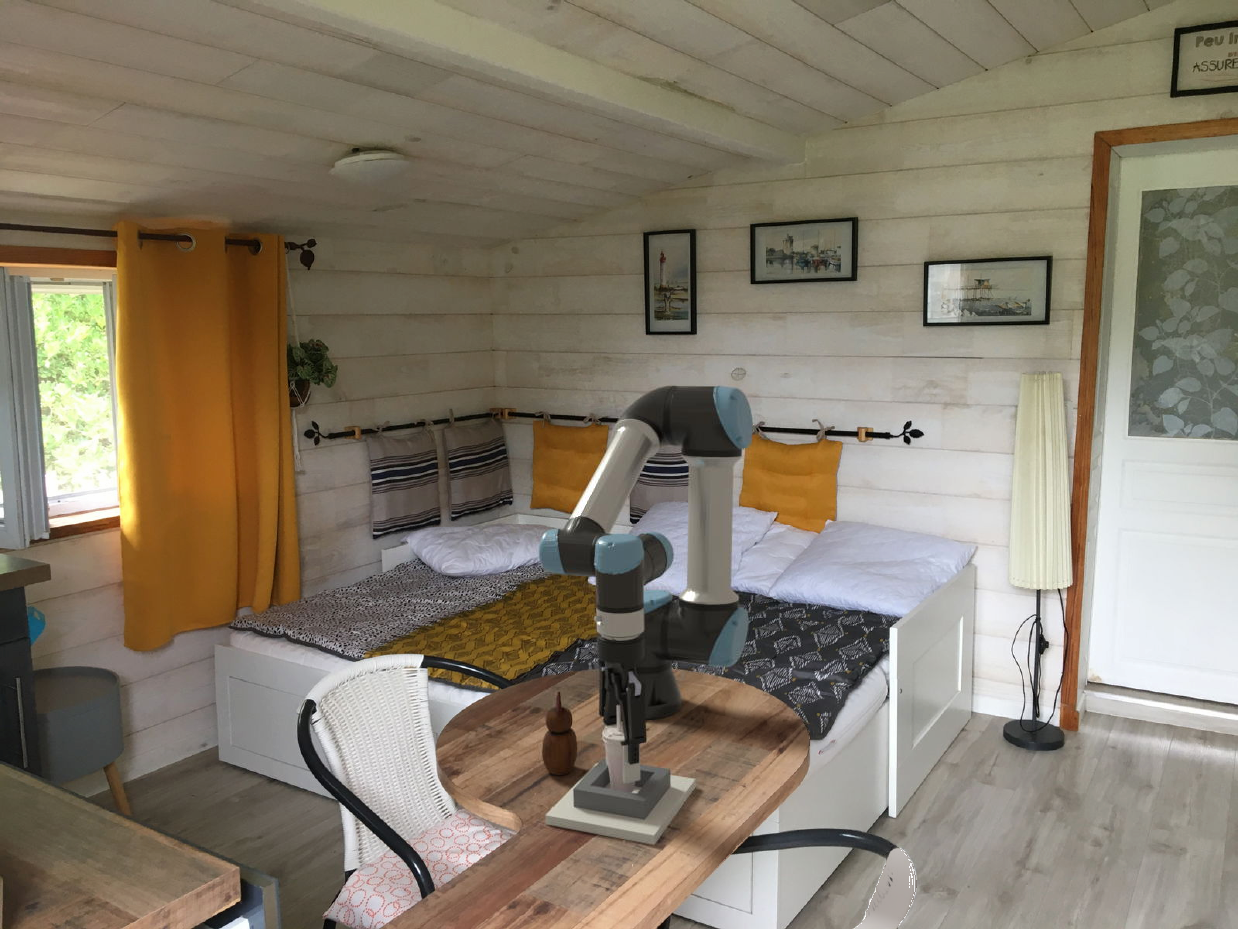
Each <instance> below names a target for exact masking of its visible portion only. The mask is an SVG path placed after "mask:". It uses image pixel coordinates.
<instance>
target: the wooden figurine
mask: <svg viewBox="0 0 1238 929" xmlns="http://www.w3.org/2000/svg"><path fill="white" fill-rule="evenodd" d="M561 698H562V697H561V691H557V695H556V699H555V700H556V701H555V707H551V708H549V709H548V710H547V713H546V715H545V726H546V728H547V731H546V732H545V734H544V737H543V740H542V748H541V756H542V760H543V764H544V766H545V769H546V770H547V772H548V773H550V774H551V775H555V776H563V775H564V776H565V775H567V774H569V773H570V772H572V770H573V769H574V767H575V764H576V760H577V757H578V739H577V734H576V733H575V730H574V729H573V728H572V726H573V714H572V712H571V710H570V709H569V708H568V707H565V706H562V699H561Z"/></svg>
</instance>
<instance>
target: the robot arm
mask: <svg viewBox="0 0 1238 929" xmlns="http://www.w3.org/2000/svg"><path fill="white" fill-rule="evenodd" d="M753 425H754V423H753V415H752V409H751V405H750V403H749V400H748V398H747V395H746V394H745V393H744V391H742V390H741V389H740V388H738V387H731V386H724V385H723V386H721V385H715V386H714V385H710V386H709V385H705V386H704V385H665V386H661V387H657V388H655V389H653V390H650V391H649V392H646V393H645V394H643V395H642V396H640V397H639V398H638V399H636V400H635V401H633V403H631V404H630V405H629V406H628V407H626V409H625V410H624V411H623V413H622V414H621V415H620V416H619V418H618V420H617V421H616V422H615V424H614V426H613V428H612V432H611V436H612V441H611V443H610V445H609V446H608V448H607V450H606V452H605V454H604V455H603V457H602V459H601V460H600V463H599V464H598V466H597V468H596V470H595V472H594V473H593V475H592V477H591V478H590V481H589V483H588V484H587V486H586V488H585V490H584V491H583V493H582V496H580V498H579V500H578V502H577V504H576V506H575V508H574V510H573V511H572V513H571V515H570V516H569V519H568V521H566V523H565V526H564V527H563V528H562V529H561V528H555V529H552V528H551V529H548V530H547V531H544V533H543V535H542V536H541V539H540V541H539V546H538V558H539V561H540V563H541V567H542V568H543V569H544V570H545V571H546V572H548V573H552V574H559V575H564V576H579V577H590V578H595V598H596V601H595V602H596V603H595V606H596V610H595V611H596V615H594V617H593V620H594V622H596V631H597V633H598V634H597V636H596V656H597V658H598V661H597V663H598V670H599V676H598V677H599V682H598V684H599V686H598V688H599V689H598V691H599V693H598V695H599V696H598V697H599V698H598V702H599V703H598V716H600V717H601V718H602V721H603V724H604V725H605V726H604V729H605V728H607V727H609V726H613V725H617V705H620V724H623V732H624V739H625V741H622V742H620V743H621V745H622V766H623V782H624V783H629V782H634V781H639V780H640V764H641V745H642V744H646V743H647V740H648V739H647V721H646V720H654V719H655V720H656V719H660V718H665V717H669V716H671V715H674V714H675V713H677V712H678V711H680V709H681V707H682V694H681V690H680V688H679V684H678V682H677V678H676V676H675V672H674V670H673V662H676V663H677V662H679V663H685V664H686V663H687V664H694V665H700V666H701V665H702V666H708V667H710V668H714V667H719V668H720V667H721V668H730V667H732V666H734V665H735V664H736V663H737V662H738V660H739V659H740V657H741V655H742V652H743V650H744V648H745V645H746V641H747V636H748V632H749V620H750V619H749V618H750V617H749V613H748V610H747V609H746V608H744V607H739V605H740V604H739V603H740V601H739V600H740V598H739V595H738V594H737V593H736V592H735V591H734V590H733V589H732V566H733V565H732V561H733V560H732V558H733V557H732V556H733V554H732V553H733V552H732V551H733V511H734V510H733V508H734V507H733V506H734V466H735V465H736V464H737V463H738V462H739V461H740V460H741V459H742V457H743V456H742V454H743V450H745V449H747V448H749V447H750V445H751V444H752V441H753V437H752V436H753V433H754V426H753ZM666 446H674V447H675V446H676V447H681V448H680V456H681V458H682V459H683V460H684V461H685V462H686V464H688V497H687V498H688V500H687V502H688V505H687V507H688V508H687V555H686V556H687V557H686V558H687V563H686V570H687V571H686V588H685V589H683V590H682V591H681V592H680V593H679V594H678V601H673V595H672V593H671V592H670V591H667V590H665V589H651V590H649V589H647V590H644V589H645V588H644V587H645V586H647V584H649V583H652V581H654V580H656V579H659V578H661V577H662V576H663V575H664V573H666V572H667V571H668V570H669V569H670V568H671V566H672V565H673V562H674V556H675V553H674V552H675V551H674V548H673V544H672V543H671V541H670V540H669V538H667V537H666V536H665V535H663V534H662V533H660V532H656V531H648V532H643V533H640V534H639V535H635V534H631V533H612V530H613V528H614V526H615V524H616V522H617V521H618V520H617V519H618V518H619V516H620V514H621V512H622V510H623V508H624V507H625V504H626V502H627V500H628V498H629V497H630V495H631V492H632V490H633V488H634V487H635V486H636V483H637V480H639V477H640V475H641V473H642V471H643V469H644V468H645V465H646V464H647V462H648V459H651V458H653V457H654V456H655V455H656V454H657V453H658V452H659V450H660V448H661V447H666ZM605 759H606V764H607V765H608V762H607V755H606V754H605Z"/></svg>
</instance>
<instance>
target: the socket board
mask: <svg viewBox="0 0 1238 929" xmlns="http://www.w3.org/2000/svg"><path fill="white" fill-rule="evenodd" d="M696 786H697V785H696V778H691V777H685V776H680V775H675V774H674V775H672V774H671V769H670V768H666V767H659V766H653V765H646V764H641V763H640V780H639V781H635V788H634V791H633V792H625V791H619V790H613V789H611V782H610V775H609V769H608V765H607V764H606V758H604V757H603V758H601V760H600V761H599V762H596V763H595V764H594V765H593V766H592V767H591V768H590V769H589V770H588V771H587V772H586V773H585V774H584V775H583V776H582V777H581V778H580V779H579V780H578V781H577V782H576V783H575V784H574V785H573V786H572V788H570V789H569V791H567V792H566V793H565V795H564V796H563V797H562V798H561V799H559V801H558V802H557V803H556V804H555V805H553V807H552V808H550V810H549V811H548V812H546V814H545V825H548V826H553V827H559V828H563V829H569V830H573V831H574V830H575V831H579V832H585V833H589V834H597V835H601V836H606V837H610V838H616V839H623V840H626V841H632V842H637V843H642V844H648V845H653V846H655V844H656V843H657V842H658V841H659V839H660V837H661V836H662V835H663V833H664V832H665V831H666V829H667V827H668V826H669V825H670V823H671V822H672V821H673V819H674V818H675V817H676V815H677V814H678V812H679V811H680V810H681V808H682V807H683V806H682V805H684V804H685V803H686V802H687V800H688V799H689V797H690V796H691V794H692V793H693V792H694V790H695V789H696V788H695V787H696ZM692 791H693V792H692ZM689 795H690V796H689ZM687 798H688V799H687ZM684 802H685V803H684Z"/></svg>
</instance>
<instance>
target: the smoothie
mask: <svg viewBox="0 0 1238 929" xmlns="http://www.w3.org/2000/svg"><path fill="white" fill-rule="evenodd" d="M620 723H621V722H620V705H617V725H613V726H609V727H607V728H605V727H604V729H603V730H602V737H601V739H602V740H603V742H604V747H605V756H606V755H607V762H608V769H609V775H610V782H611V789H613V790H619V791H625V792H633V791H634V788H635V781H634V782H629V783H624V782H623V766H622V745H621V743H620V742H622V741H625V739H624V732H623V724H622V723H621V724H620Z"/></svg>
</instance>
